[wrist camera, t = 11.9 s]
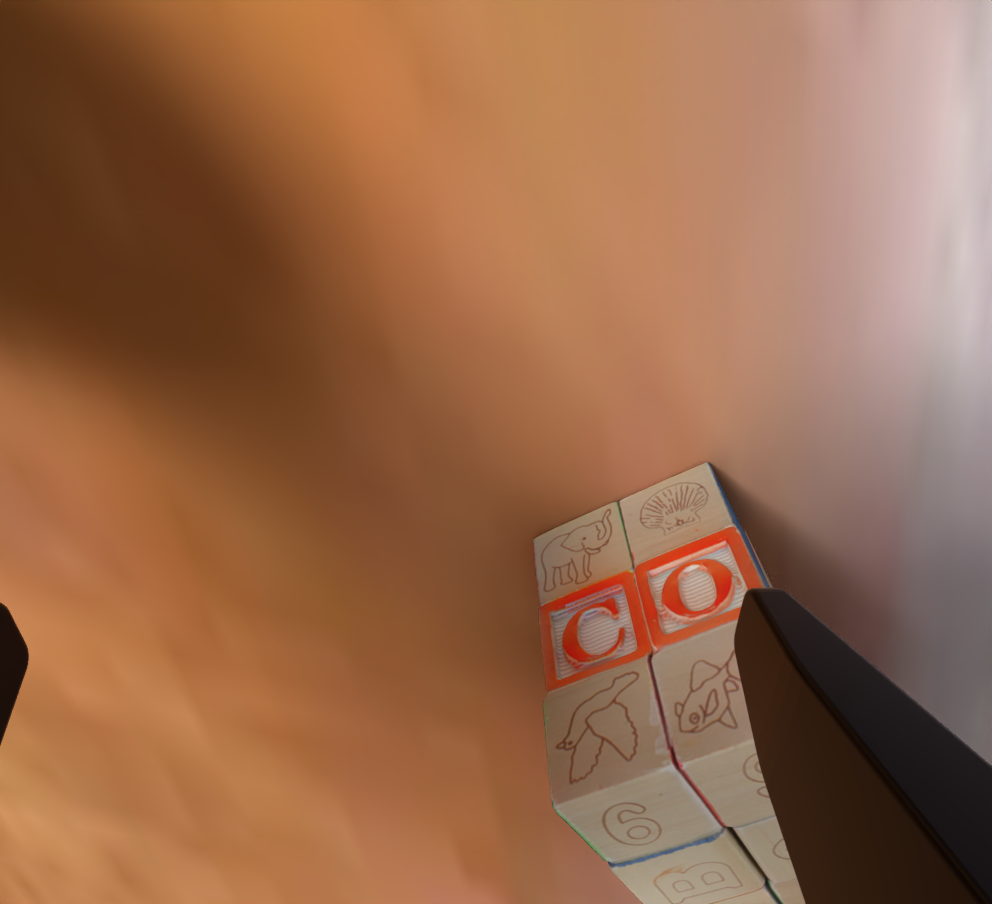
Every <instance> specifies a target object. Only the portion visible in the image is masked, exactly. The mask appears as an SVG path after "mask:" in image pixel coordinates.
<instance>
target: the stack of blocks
mask: <svg viewBox="0 0 992 904" xmlns="http://www.w3.org/2000/svg"><path fill="white" fill-rule="evenodd" d="M533 542H534V556H535V570H536V579H537V586H538V594H539V603H540V606H541V607H540V608H539V609H538V615H539V625H540V635H541V646H542V657H543V668H544V676H545V685H546V690H547V695H546V696H545V698H544V701H543V712H544V725H545V739H546V748H547V759H548V770H549V781H550V791H551V799H552V806H553V808H554V809H555V811H556V813H557V814H558V815H559V816H560V817H561V818H562V819H563V820H564V821H565V822H566V823H567V824H568V825H569V826H570V827H571V828H572V829H573V830H574V831H575V832H576V833H577V834H578V835H579V836H581V837H582V838H583V839H584V840H585V842H586V843H587V844H588V845H589V846H590V847H591V848H592V849H593V850H594V851H595V852H596V853H598V854H599V855H600V856H601V857H602V859H603V860H605V861H608V863H609V868H610V869H611V870H612V872H613V873H614V874H615V875H616V876H617V877H618V878H619V879H620V880H621V881H622V882H623V883H624V884H625V885H626V886H627V887H628V888H629V889H630V891H631V892H632V893H633V894H634V895H636V896H637V897H638V898H639V899H640V900H641V901H642V902H643V903H644V904H805V901H804V898H803V895H802V892H801V889H800V886H799V883H798V880H797V877H796V874H795V871H794V868H793V865H792V862H791V860H790V857H789V854H788V851H787V848H786V845H785V842H784V839H783V836H782V833H781V830H780V827H779V824H778V821H777V818H776V815H775V812H774V809H773V806H772V803H771V800H770V797H769V794H768V791H767V788H766V785H765V782H764V779H763V775H762V772H761V769H760V765H759V761H758V757H757V752H756V748H755V744H754V739H753V734H752V730H751V725H750V720H749V716H748V711H747V707H746V702H745V697H744V693H743V688H742V683H741V679H740V674H739V670H738V665H737V660H736V656H735V650H734V634H735V630H736V626H737V622H738V618H739V614H740V610H741V606H742V602H743V598H744V595H745V593H746V592H747V590H749V589H751V588H772V587H773V586H772V584H771V582H770V580H769V578H768V576H767V574H766V572H765V570H764V568H763V566H762V564H761V562H760V560H759V558H758V556H757V554H756V552H755V549H754V547H753V545H752V543H751V541H750V539H749V537H748V535H747V533H746V532H745V531H744V530H743V529H742V527H741V525H740V523H739V521H738V519H737V517H736V515H735V513H734V511H733V509H732V507H731V505H730V503H729V501H728V499H727V497H726V495H725V493H724V491H723V489H722V487H721V485H720V483H719V481H718V479H717V477H716V475H715V473H714V471H713V469H712V467H711V465H710V464H709V463H708V462H706V463H704V464H701V465H699V466H696V467H694V468H692V469H689V470H687V471H685V472H682V473H680V474H678V475H675V476H673V477H671V478H668V479H666V480H664V481H662V482H659V483H657V484H655V485H653V486H650V487H648V488H646V489H644V490H641V491H639V492H637V493H635V494H633V495H630V496H628V497H626V498H624V499H622V500H620V501H619V502H612V503H610V504H607V505H605V506H603V507H601V508H599V509H596V510H594V511H592V512H590V513H587V514H585V515H583V516H581V517H579V518H577V519H574V520H572V521H570V522H567V523H565V524H563V525H560V526H558V527H556V528H554V529H552V530H550V531H548V532H546V533H544V534H542V535H540V536H538V537H537V538H535V539H534V540H533Z"/></svg>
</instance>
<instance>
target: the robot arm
mask: <svg viewBox="0 0 992 904" xmlns="http://www.w3.org/2000/svg"><path fill="white" fill-rule="evenodd" d="M734 650H735V656H736V660H737V665H738V670H739V674H740V679H741V683H742V688H743V693H744V697H745V702H746V707H747V711H748V716H749V720H750V725H751V730H752V734H753V739H754V744H755V748H756V752H757V757H758V761H759V765H760V769H761V772H762V775H763V779H764V782H765V785H766V788H767V791H768V794H769V797H770V800H771V803H772V806H773V809H774V812H775V815H776V818H777V821H778V824H779V827H780V830H781V833H782V836H783V839H784V842H785V845H786V848H787V851H788V854H789V857H790V860H791V862H792V865H793V868H794V871H795V874H796V877H797V880H798V883H799V886H800V889H801V892H802V895H803V898H804V901H805V904H992V766H991V765H990V764H989V763H988V762H986V761H985V760H984V759H983V758H982V757H980V756H979V755H978V754H977V753H976V752H975V751H973V750H972V749H971V748H970V747H969V746H968V745H966V744H965V743H964V742H963V741H962V740H960V739H959V738H958V737H957V736H956V735H955V734H953V733H952V732H951V731H950V730H949V729H948V728H946V727H945V726H944V725H943V724H942V723H940V722H939V721H938V720H937V719H936V718H935V717H933V716H932V715H931V714H930V713H929V712H928V711H926V710H925V709H924V708H923V707H922V706H921V705H919V704H918V703H917V702H916V701H915V700H913V699H912V698H911V697H910V696H909V695H908V694H906V693H905V692H904V691H903V690H902V689H901V688H899V687H898V686H897V685H896V684H895V683H893V682H892V681H891V680H890V679H889V678H888V677H886V676H885V675H884V674H883V673H882V672H881V671H879V670H878V669H877V668H876V667H875V666H873V665H872V664H871V663H870V662H869V661H868V660H866V659H865V658H864V657H863V656H862V655H861V654H859V653H858V652H857V651H856V650H855V649H854V648H852V647H851V646H850V645H849V644H848V643H846V642H845V641H844V640H843V639H842V638H841V637H839V636H838V635H837V634H836V633H835V632H834V631H832V630H831V629H830V628H829V627H828V626H826V625H825V624H824V623H823V622H822V621H821V620H819V619H818V618H817V617H816V616H815V615H814V614H812V613H811V612H810V611H809V610H808V609H806V608H805V607H804V606H803V605H802V604H801V603H799V602H798V601H797V600H796V599H795V598H794V597H792V596H791V595H790V594H789V593H788V592H786V591H785V590H783V589H781V588H777V587H772V588H751V589H749V590H747V592H746V593H745V595H744V598H743V602H742V606H741V610H740V614H739V618H738V622H737V626H736V630H735V634H734ZM28 660H29V654H28V648H27V645H26V643H25V641H24V639H23V637H22V635H21V633H20V631H19V629H18V627H17V625H16V623H15V621H14V619H13V617H12V615H11V613H10V612H9V610H8V608H7V607H6V606H5V605H3V604H2V603H0V745H1V742H2V739H3V736H4V734H5V731H6V728H7V725H8V722H9V719H10V716H11V713H12V710H13V707H14V704H15V702H16V699H17V696H18V693H19V690H20V687H21V684H22V681H23V678H24V675H25V673H26V670H27V666H28Z"/></svg>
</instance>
